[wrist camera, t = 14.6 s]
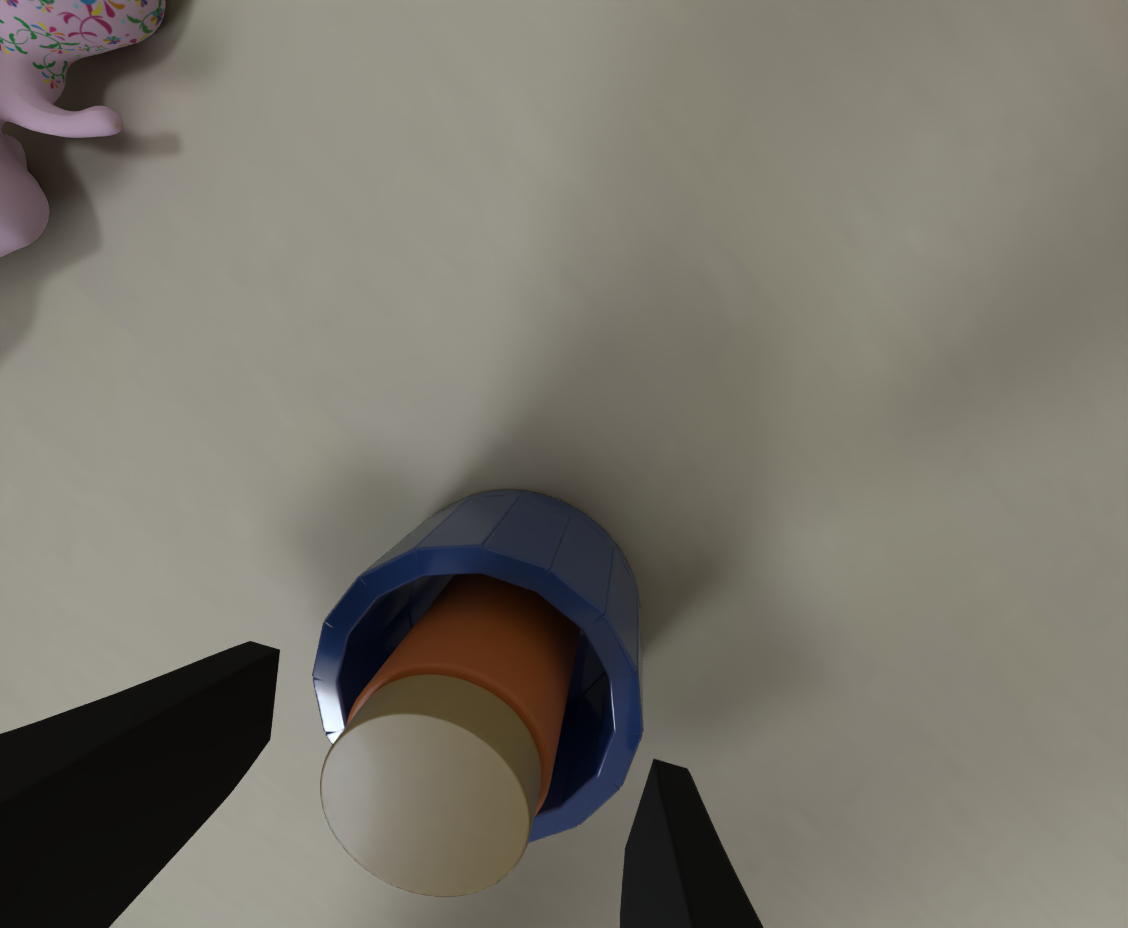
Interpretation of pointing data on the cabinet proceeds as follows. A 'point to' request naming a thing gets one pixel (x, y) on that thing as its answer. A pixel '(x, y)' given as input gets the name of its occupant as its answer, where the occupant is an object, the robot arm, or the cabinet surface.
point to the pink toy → (54, 89)
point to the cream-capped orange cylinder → (454, 741)
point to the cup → (532, 561)
